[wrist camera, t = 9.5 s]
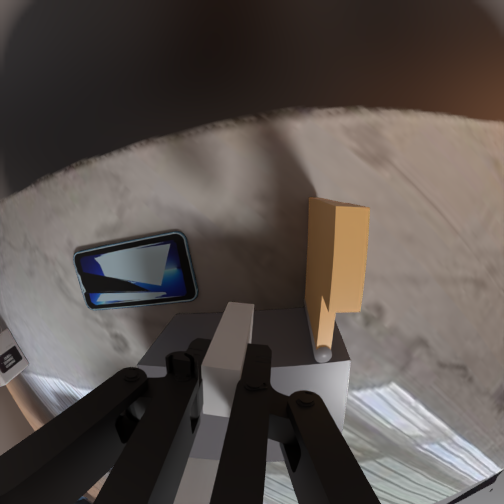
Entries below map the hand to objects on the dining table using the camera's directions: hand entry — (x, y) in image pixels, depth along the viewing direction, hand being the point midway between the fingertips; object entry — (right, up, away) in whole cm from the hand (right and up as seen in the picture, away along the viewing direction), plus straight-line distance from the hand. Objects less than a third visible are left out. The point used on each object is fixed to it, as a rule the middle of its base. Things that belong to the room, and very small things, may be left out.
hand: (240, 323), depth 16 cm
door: (+6, +4, +10) cm, 12 cm away
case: (0, -8, +13) cm, 15 cm away
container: (-44, -14, +19) cm, 50 cm away
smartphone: (-13, +2, +13) cm, 18 cm away
